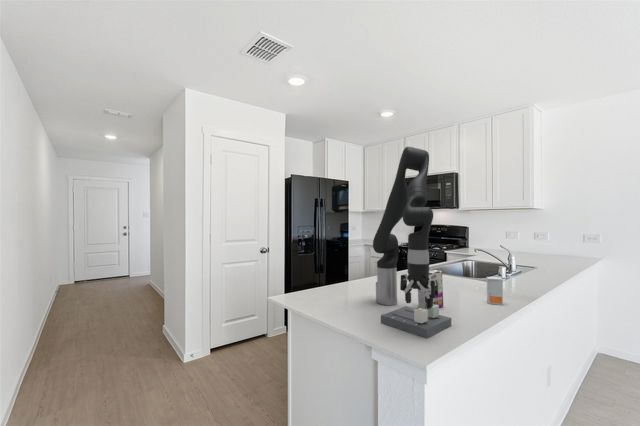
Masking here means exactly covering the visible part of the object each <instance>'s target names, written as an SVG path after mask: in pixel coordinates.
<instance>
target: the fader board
mask: <svg viewBox="0 0 640 426" xmlns="http://www.w3.org/2000/svg"><path fill="white" fill-rule="evenodd" d="M417 309H418V308H415V307H412V306H411V307H410V306H403V307H400V308H398V309H395V310H392V311H388V312H387V313H386V312H385V313H384V314H381V315H380V324H382V325H386V326H389V327H392V328H395V329H398V330H400V331H404V332H407V333H411V334H413V335H416V336H420V337H422V338H424V339H428V338H430V337H432V336H434V335H436V334H438V333H440V332H443V331H444V330H446V329H448V328H449V327H452V317H451V316H450V317H449V316H445V315H443V314H442V315H441V314H439V316H438V317H435V318H431V317H428V321H426V322H424V323H422V324H421V323H418V322H415V321H414V310H417Z"/></svg>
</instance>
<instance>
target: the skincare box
mask: <svg viewBox="0 0 640 426" xmlns="http://www.w3.org/2000/svg"><path fill="white" fill-rule="evenodd" d="M503 287H504V284H503V278H502V277H499V276H486V302H487V304H488V305H499V306H503V305H504V303H503V302H504V301H503V299H504V297H503V294H504V293H503V291H504V289H503Z"/></svg>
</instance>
